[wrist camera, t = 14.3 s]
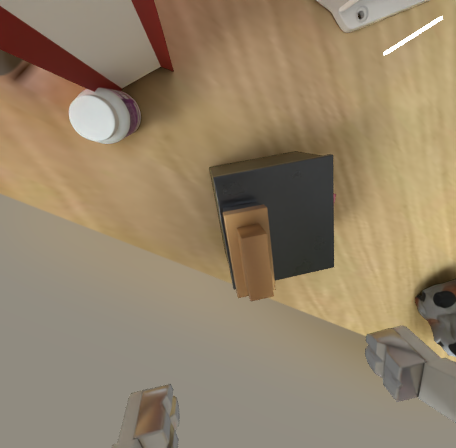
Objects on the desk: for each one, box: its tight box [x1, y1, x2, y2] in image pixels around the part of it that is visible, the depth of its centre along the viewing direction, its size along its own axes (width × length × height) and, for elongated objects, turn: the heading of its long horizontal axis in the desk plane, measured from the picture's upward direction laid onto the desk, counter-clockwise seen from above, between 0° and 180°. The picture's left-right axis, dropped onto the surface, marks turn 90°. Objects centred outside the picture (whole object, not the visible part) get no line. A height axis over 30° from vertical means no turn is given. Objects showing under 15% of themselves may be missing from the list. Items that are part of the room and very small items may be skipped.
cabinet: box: [209, 151, 334, 289], centre depth 33 cm, size 14×14×10 cm
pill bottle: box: [69, 88, 141, 144], centre depth 26 cm, size 5×5×10 cm
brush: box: [223, 202, 276, 301], centre depth 26 cm, size 4×10×6 cm, turn 9°
